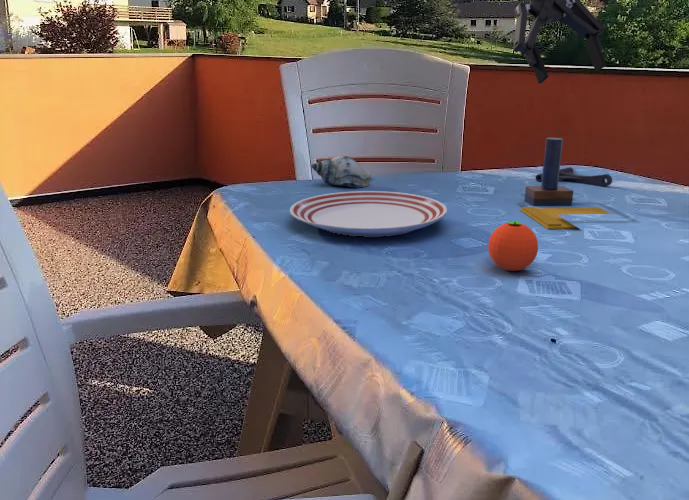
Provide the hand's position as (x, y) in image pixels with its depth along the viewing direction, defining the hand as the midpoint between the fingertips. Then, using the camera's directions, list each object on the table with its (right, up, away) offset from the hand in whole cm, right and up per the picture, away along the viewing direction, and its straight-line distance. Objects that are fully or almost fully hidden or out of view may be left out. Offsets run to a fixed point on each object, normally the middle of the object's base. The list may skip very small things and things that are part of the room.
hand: (572, 74), depth 141 cm
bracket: (+9, -19, +24) cm, 32 cm away
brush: (-4, -25, +2) cm, 26 cm away
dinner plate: (-41, -31, -17) cm, 54 cm away
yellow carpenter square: (-3, -29, -10) cm, 31 cm away
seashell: (-46, -21, +16) cm, 53 cm away
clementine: (-22, -38, -39) cm, 59 cm away
